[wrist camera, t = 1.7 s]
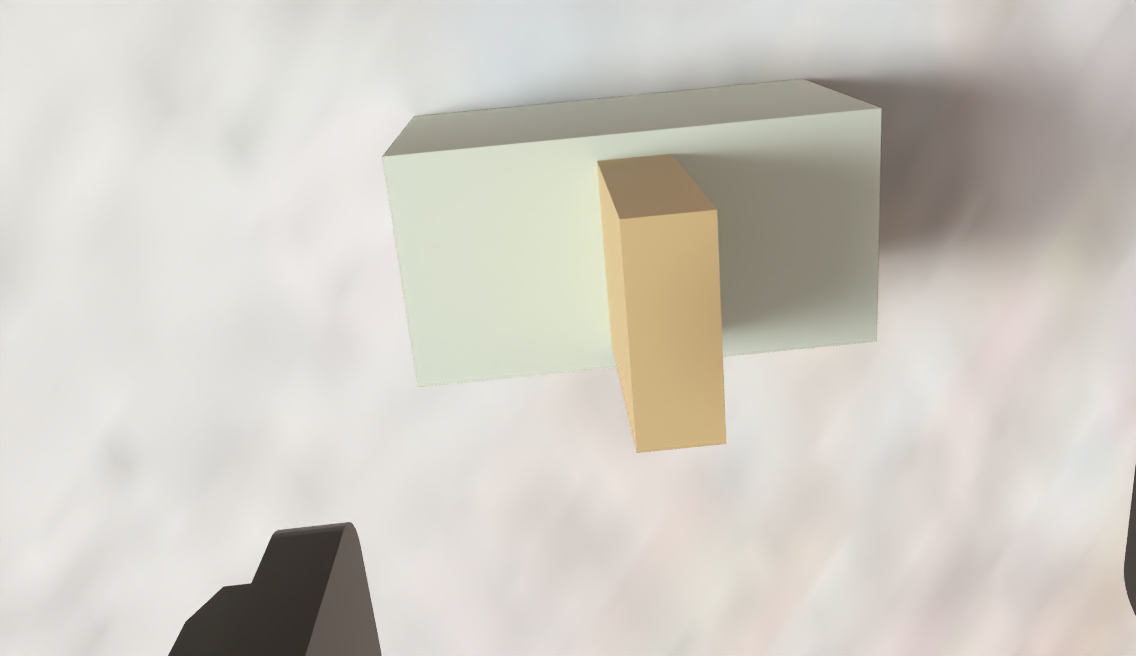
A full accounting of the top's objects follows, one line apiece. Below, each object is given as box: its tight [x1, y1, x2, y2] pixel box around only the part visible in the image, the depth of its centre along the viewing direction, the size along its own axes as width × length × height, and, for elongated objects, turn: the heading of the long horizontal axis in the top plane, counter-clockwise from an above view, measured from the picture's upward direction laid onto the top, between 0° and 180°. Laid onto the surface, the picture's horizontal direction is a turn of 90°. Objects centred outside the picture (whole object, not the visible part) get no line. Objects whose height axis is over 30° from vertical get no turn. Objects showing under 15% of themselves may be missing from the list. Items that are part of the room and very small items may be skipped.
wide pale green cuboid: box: [382, 79, 881, 453], centre depth 21 cm, size 10×5×11 cm, turn 95°
